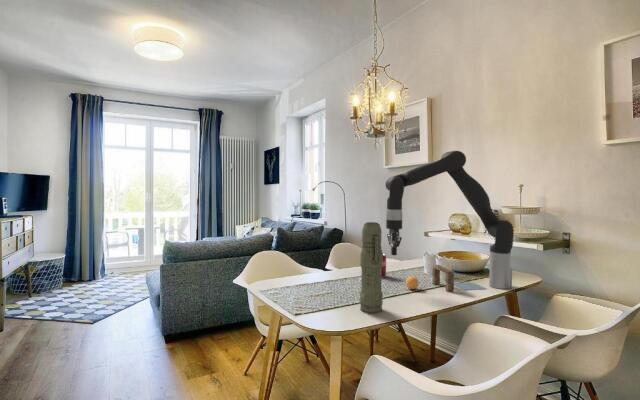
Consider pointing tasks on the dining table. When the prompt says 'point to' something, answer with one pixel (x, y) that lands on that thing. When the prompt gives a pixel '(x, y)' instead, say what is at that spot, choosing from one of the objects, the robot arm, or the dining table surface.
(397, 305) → the dining table surface
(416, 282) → the ball
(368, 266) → the thermos
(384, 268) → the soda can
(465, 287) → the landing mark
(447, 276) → the bridge
